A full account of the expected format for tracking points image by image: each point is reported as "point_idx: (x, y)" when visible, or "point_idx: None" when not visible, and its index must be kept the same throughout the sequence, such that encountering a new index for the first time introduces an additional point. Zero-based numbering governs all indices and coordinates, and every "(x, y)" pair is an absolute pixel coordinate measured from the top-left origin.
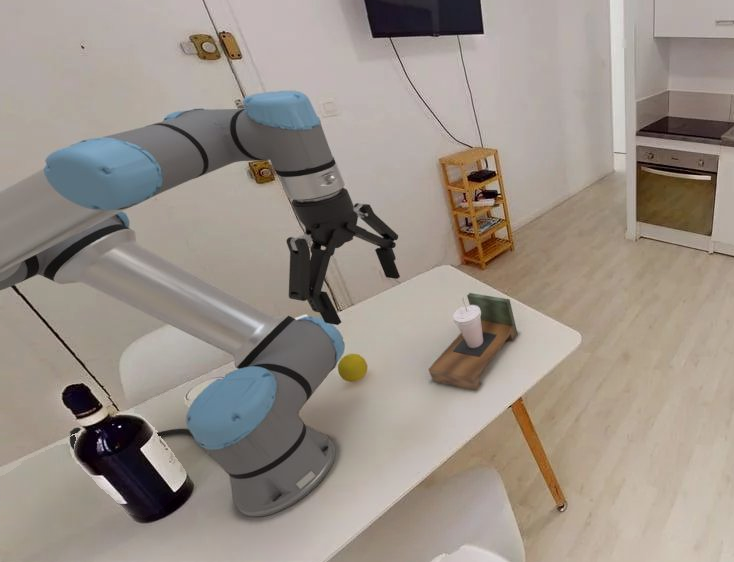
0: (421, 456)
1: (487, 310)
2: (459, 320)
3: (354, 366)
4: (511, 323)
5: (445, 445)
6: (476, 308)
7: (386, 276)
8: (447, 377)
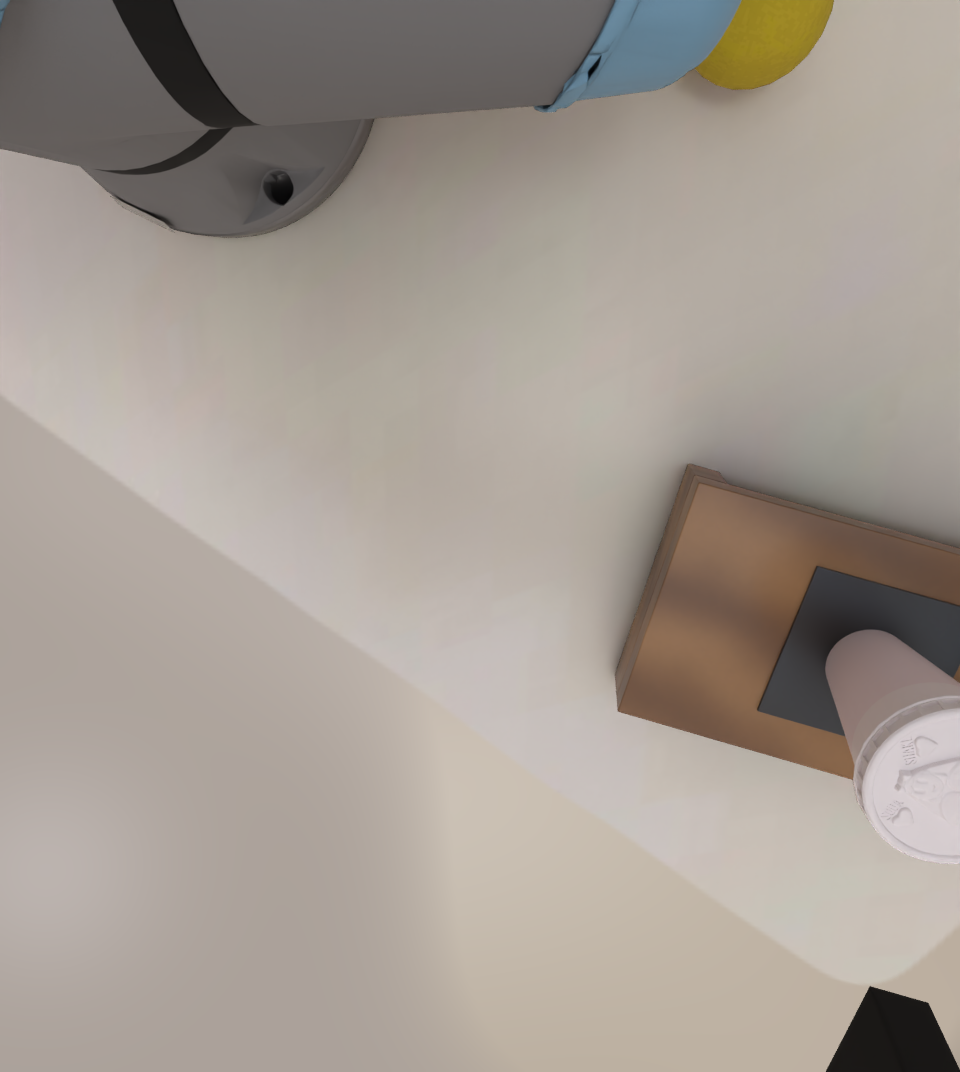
0: (321, 568)
1: None
2: (883, 766)
3: (720, 51)
4: None
5: (366, 637)
6: None
7: (867, 1015)
8: (660, 569)
